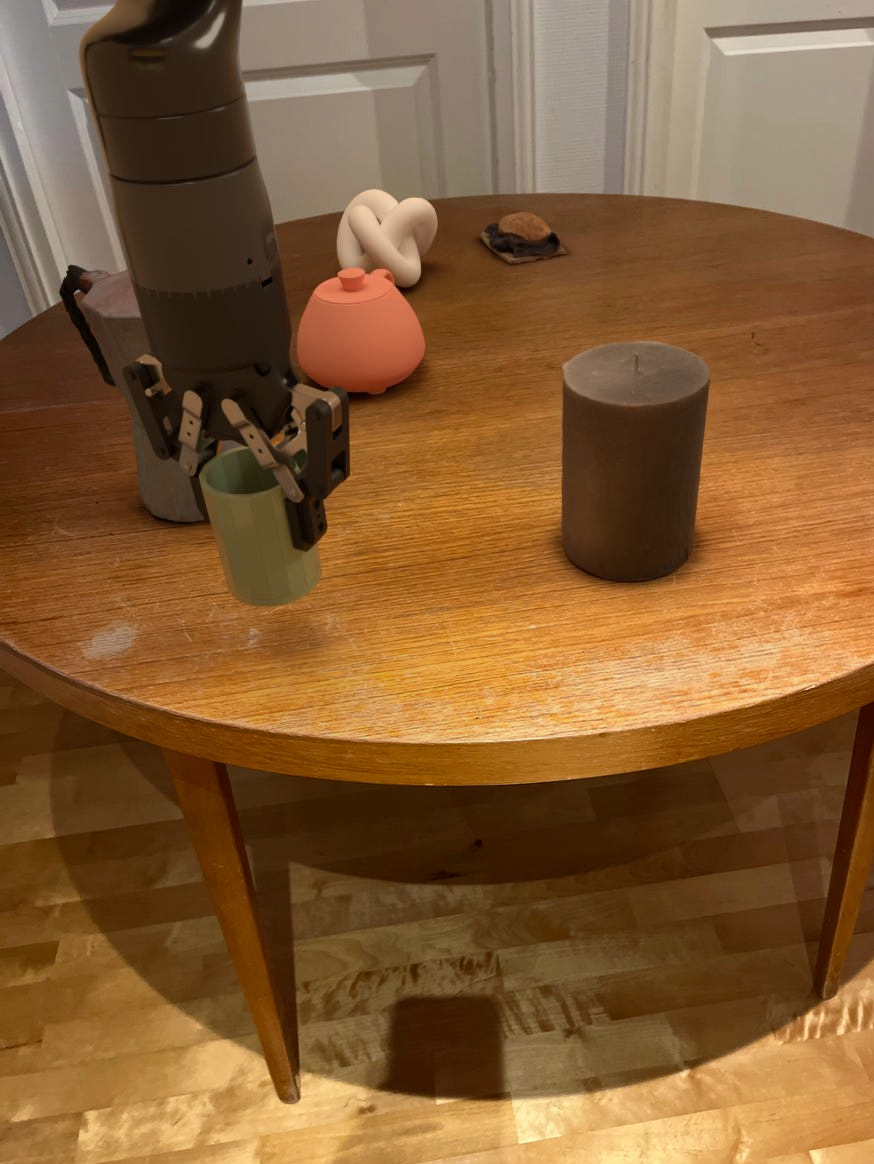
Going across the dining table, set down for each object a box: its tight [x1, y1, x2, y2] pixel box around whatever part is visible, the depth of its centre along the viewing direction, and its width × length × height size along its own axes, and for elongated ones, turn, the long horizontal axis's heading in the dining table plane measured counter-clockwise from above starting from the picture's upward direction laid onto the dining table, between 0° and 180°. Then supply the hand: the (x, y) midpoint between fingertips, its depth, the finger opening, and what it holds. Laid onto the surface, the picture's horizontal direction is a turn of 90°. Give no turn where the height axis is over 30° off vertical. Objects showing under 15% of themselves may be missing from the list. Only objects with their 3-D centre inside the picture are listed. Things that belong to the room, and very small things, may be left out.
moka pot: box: [58, 264, 241, 523], centre depth 74 cm, size 10×15×20 cm, turn 70°
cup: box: [199, 443, 323, 608], centre depth 60 cm, size 6×6×8 cm
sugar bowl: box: [296, 268, 426, 395], centre depth 93 cm, size 12×14×10 cm
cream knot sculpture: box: [336, 188, 438, 289], centre depth 112 cm, size 11×12×9 cm
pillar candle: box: [560, 340, 711, 582], centre depth 68 cm, size 10×10×15 cm
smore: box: [479, 211, 567, 265], centre depth 120 cm, size 11×8×4 cm
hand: (264, 530), depth 60 cm, fingers closed on cup, 6 cm apart
